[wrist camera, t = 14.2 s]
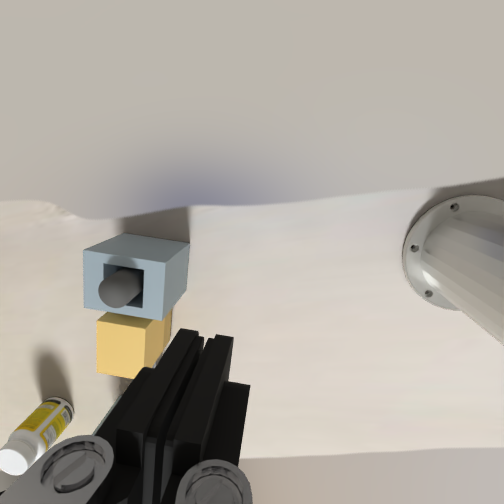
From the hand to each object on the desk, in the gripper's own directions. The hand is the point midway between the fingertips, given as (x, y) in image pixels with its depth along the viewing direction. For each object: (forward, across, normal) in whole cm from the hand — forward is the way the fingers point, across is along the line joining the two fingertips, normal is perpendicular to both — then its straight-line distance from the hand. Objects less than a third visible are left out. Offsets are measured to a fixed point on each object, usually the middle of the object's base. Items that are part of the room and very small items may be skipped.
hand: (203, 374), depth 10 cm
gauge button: (+21, +12, +6) cm, 25 cm away
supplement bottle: (+27, +25, +31) cm, 48 cm away
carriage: (+27, +12, +14) cm, 33 cm away
